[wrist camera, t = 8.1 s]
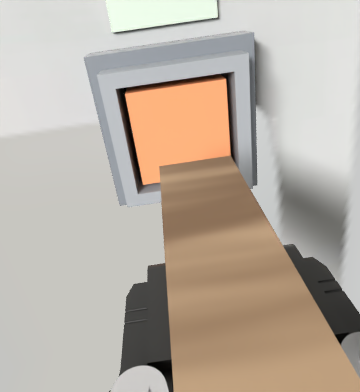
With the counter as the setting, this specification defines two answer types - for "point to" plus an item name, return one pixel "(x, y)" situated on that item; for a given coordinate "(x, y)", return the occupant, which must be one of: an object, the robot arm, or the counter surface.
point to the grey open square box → (168, 71)
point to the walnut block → (238, 293)
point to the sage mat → (157, 12)
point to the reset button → (178, 122)
